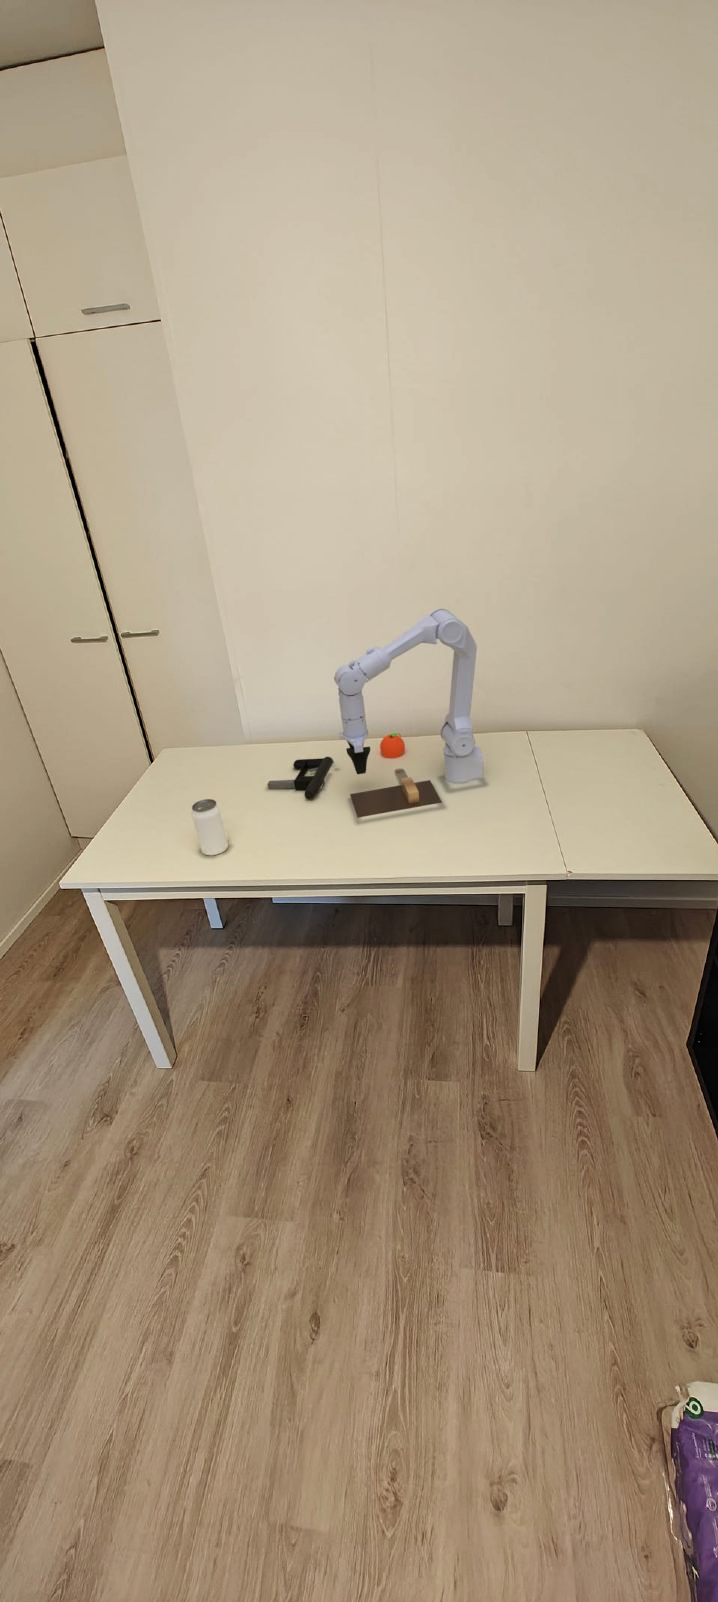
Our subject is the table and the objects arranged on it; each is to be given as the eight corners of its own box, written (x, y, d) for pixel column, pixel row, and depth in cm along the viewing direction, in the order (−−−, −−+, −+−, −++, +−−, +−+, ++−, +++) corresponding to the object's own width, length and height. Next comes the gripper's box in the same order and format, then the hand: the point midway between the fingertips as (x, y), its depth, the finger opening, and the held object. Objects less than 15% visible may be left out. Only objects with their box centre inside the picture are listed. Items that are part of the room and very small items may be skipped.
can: (203, 843, 171) (191, 800, 165) (229, 839, 171) (219, 796, 165) (200, 858, 165) (188, 814, 159) (227, 854, 165) (216, 810, 159)
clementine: (392, 749, 204) (389, 726, 200) (412, 753, 200) (410, 730, 196) (376, 760, 198) (373, 737, 195) (397, 765, 195) (394, 742, 191)
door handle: (259, 792, 185) (317, 790, 181) (283, 757, 202) (337, 754, 197) (262, 803, 187) (320, 801, 182) (285, 767, 203) (339, 764, 199)
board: (430, 785, 183) (430, 779, 183) (442, 807, 173) (442, 802, 172) (350, 799, 181) (349, 794, 181) (358, 822, 171) (357, 817, 170)
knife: (419, 802, 173) (418, 791, 172) (408, 804, 173) (407, 793, 172) (403, 769, 189) (402, 759, 188) (393, 770, 189) (392, 760, 187)
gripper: (334, 706, 175) (341, 755, 181) (338, 730, 162) (346, 782, 169) (362, 702, 175) (368, 751, 182) (369, 725, 162) (375, 777, 169)
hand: (359, 766), depth 175 cm, fingers open, 7 cm apart
